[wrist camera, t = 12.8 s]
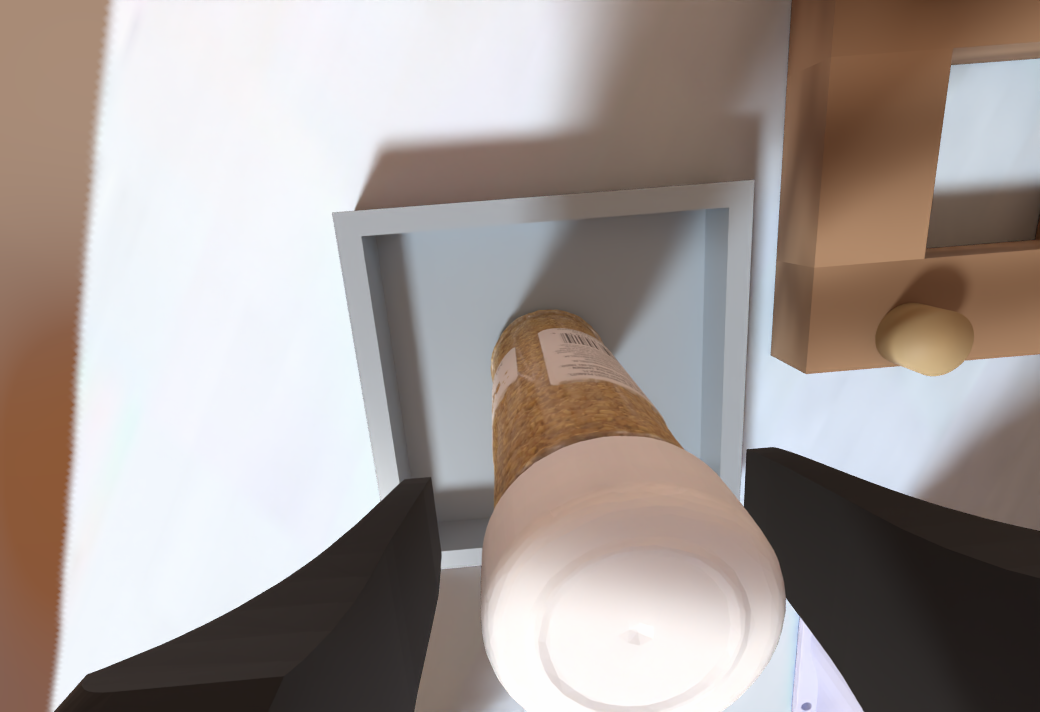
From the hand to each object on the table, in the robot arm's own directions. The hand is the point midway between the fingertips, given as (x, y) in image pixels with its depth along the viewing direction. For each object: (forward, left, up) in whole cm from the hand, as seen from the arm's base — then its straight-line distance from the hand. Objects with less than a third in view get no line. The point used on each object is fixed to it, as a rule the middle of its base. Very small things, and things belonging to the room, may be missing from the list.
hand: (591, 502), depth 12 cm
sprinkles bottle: (+1, 0, -9) cm, 9 cm away
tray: (0, 0, -10) cm, 10 cm away
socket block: (+7, -16, -10) cm, 20 cm away
